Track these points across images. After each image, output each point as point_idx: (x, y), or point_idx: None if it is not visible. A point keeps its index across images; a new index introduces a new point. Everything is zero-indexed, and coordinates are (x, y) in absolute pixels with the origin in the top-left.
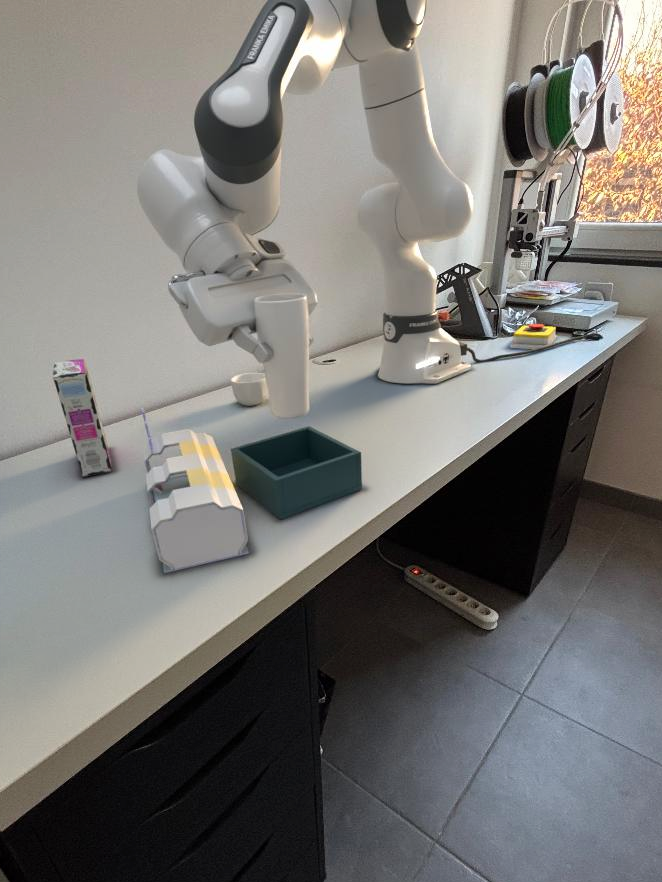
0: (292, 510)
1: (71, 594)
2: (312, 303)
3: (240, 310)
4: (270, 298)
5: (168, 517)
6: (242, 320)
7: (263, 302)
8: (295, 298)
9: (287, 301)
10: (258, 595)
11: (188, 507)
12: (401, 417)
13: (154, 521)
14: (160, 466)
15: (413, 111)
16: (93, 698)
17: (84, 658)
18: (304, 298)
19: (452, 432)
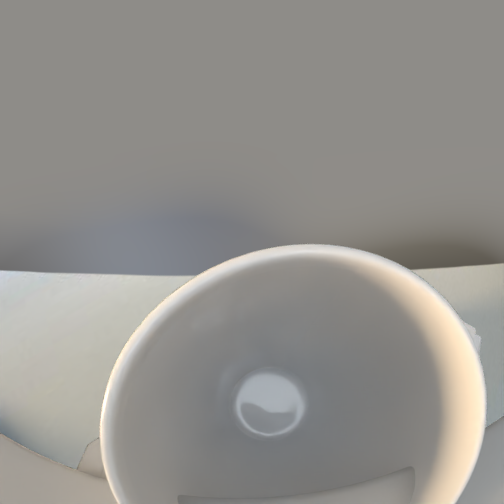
0: None
1: (492, 375)
2: (6, 439)
3: (492, 471)
4: None
5: (476, 335)
6: (487, 430)
7: (484, 383)
8: (128, 448)
9: (403, 266)
10: (416, 272)
11: (468, 324)
12: (26, 380)
13: (479, 348)
14: None
15: None
16: (495, 275)
17: (496, 305)
18: (246, 255)
19: (44, 304)
